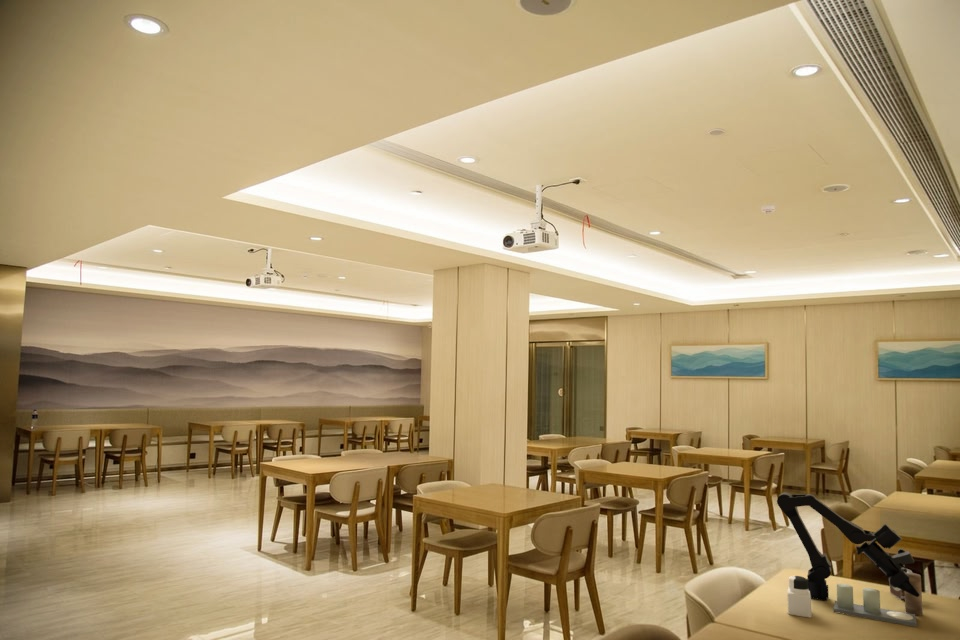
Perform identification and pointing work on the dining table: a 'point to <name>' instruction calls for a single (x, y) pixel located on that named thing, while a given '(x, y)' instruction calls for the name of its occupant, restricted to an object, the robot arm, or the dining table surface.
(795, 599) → the medicine bottle
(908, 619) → the slate board
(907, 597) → the walnut post
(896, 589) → the food container
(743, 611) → the dining table surface
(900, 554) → the robot arm
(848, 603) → the sage posts
